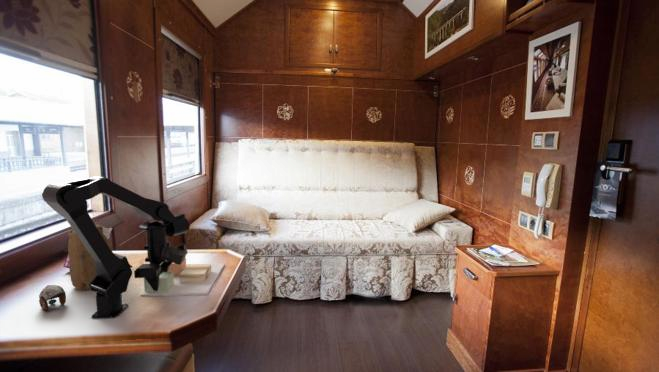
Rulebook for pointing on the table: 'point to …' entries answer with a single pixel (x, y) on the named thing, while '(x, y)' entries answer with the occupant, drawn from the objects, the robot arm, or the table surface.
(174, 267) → the terracotta block
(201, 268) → the foundation slab
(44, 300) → the helmet
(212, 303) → the table surface
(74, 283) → the block
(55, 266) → the table surface
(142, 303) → the table surface
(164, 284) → the sage block
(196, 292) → the baseplate
